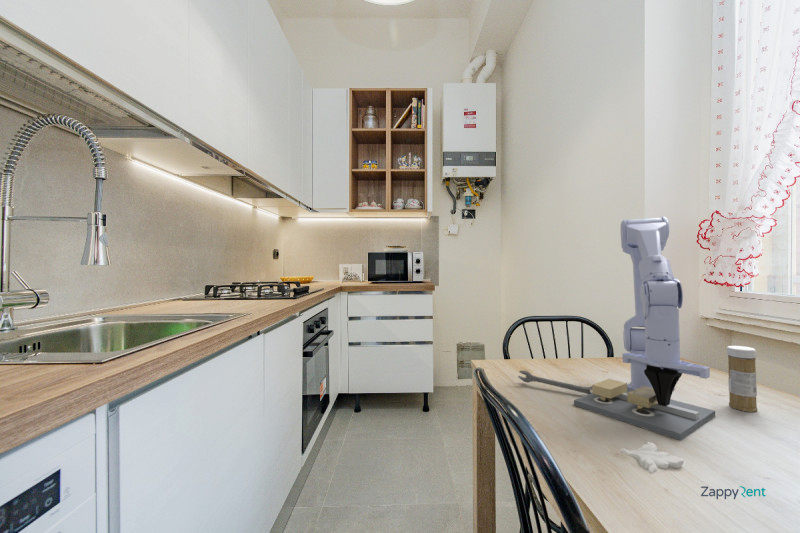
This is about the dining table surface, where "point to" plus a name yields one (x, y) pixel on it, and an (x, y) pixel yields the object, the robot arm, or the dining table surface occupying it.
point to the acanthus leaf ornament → (653, 457)
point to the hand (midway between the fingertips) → (663, 404)
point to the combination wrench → (554, 383)
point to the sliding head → (642, 397)
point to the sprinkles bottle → (742, 378)
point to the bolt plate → (644, 410)
